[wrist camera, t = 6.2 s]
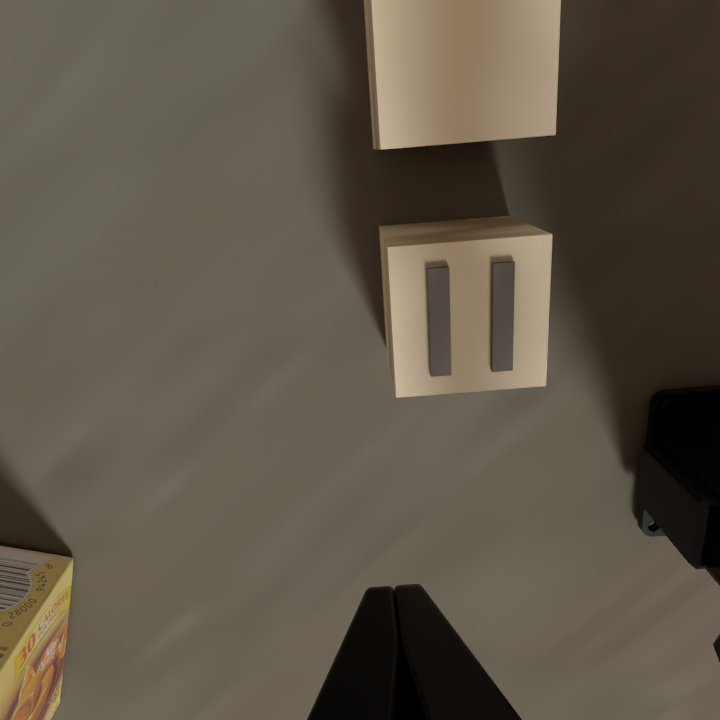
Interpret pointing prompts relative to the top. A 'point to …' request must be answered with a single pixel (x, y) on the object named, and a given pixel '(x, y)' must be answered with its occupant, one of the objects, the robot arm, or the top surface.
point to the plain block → (461, 70)
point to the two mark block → (466, 304)
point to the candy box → (32, 631)
